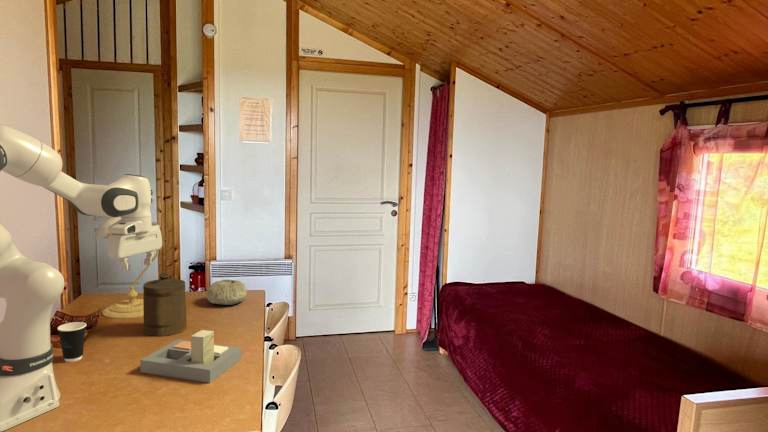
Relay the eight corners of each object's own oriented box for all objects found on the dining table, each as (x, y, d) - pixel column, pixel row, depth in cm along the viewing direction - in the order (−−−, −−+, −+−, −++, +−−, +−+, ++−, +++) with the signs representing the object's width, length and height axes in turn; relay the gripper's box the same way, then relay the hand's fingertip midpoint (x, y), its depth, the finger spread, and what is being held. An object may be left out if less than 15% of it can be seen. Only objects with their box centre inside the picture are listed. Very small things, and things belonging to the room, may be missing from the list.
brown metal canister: (170, 320, 197) (169, 267, 195) (194, 328, 190) (193, 272, 187) (135, 330, 185) (134, 274, 182) (160, 339, 177) (158, 280, 175)
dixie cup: (88, 352, 164) (86, 320, 163) (87, 361, 157) (85, 328, 156) (59, 356, 160) (58, 323, 159) (57, 365, 153) (56, 331, 152)
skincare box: (203, 375, 150) (203, 337, 148) (190, 374, 151) (190, 336, 149) (214, 367, 156) (214, 330, 154) (202, 365, 157) (202, 329, 155)
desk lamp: (107, 301, 219) (104, 212, 214) (163, 298, 226) (162, 212, 222) (92, 324, 190) (88, 222, 185) (157, 319, 198) (155, 221, 193)
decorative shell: (233, 310, 212) (233, 288, 211) (197, 306, 216) (197, 284, 215) (253, 299, 229) (253, 278, 228) (219, 295, 233) (219, 275, 232)
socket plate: (210, 382, 145) (209, 368, 145) (140, 372, 151) (140, 358, 150) (241, 359, 163) (241, 346, 162) (177, 350, 168) (177, 337, 167)
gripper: (150, 220, 167) (151, 260, 169) (103, 228, 148) (104, 273, 149) (166, 222, 166) (167, 262, 167) (120, 229, 146) (121, 275, 148)
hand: (137, 267), depth 158 cm, fingers open, 8 cm apart
